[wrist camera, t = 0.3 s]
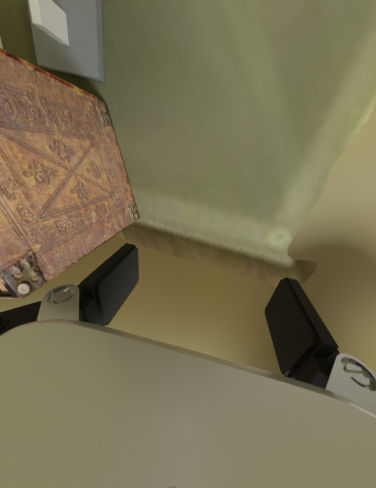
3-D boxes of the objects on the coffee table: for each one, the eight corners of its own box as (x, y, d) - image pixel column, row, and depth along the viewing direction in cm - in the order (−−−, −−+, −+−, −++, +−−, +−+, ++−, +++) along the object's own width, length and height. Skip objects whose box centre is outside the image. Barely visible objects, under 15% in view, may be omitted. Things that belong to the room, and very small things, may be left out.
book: (70, 112, 35) (-361, -30, 9) (106, 101, 33) (-330, -127, 7) (111, 221, 46) (-34, 299, 20) (140, 218, 44) (19, 301, 18)
